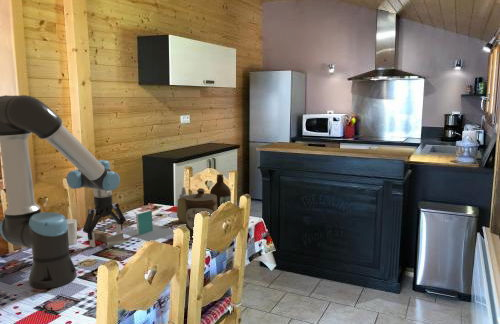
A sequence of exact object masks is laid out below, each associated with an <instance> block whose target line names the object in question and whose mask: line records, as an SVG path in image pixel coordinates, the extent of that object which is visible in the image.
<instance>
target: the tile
mask: <svg viewBox="0 0 500 324" xmlns="http://www.w3.org/2000/svg"><path fill="white" fill-rule="evenodd" d="M135 218H136V219H135V221H136V229H137V235H141V234H144V233H147V232H150V231H153V226H152V224H153V211H152V210H151V209H148V210H145V211H142V212H141V211H140V212H138V213H135Z"/></svg>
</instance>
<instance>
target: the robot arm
mask: <svg viewBox="0 0 500 324" xmlns="http://www.w3.org/2000/svg"><path fill="white" fill-rule="evenodd" d="M32 133H33V134H34V135H36V136H37V137H38V138H39V139H41V140H46V141H47V142H48V143H49V145H51V146H52V147H53V148H54V149H56V151H58V152H59V153H60V154H61V155H62V156H63V157H64V158H66V160H67V161H69V162H70V163H71V164H72V165H73V167H75V168H76V169H74V170H69V171H68V173H67V175H66V183H67V185H68V187H70V188H71V189H73V190H75V189H78V190H79V189H82V188H87V189H92V190H93V196H94V197H93V201H94V208H89V209H88V210H87V211H88V212H87V217H86V220H85V223H84V226H83V229H82V232H83V233H87V240H88V241H89V247H91V248H96V241H95V237H94V232H93V230H95V228H96V226H97V224H98V223H99V221H100V220H101V219H102V218H105V217H111V218H112V219H113V220H114V221H115V222H116V223H115V229H116V230H115V231H116V234H119V233H122V232H123V224H124V222H126V221H127V219H126V217H125V216H124V214H123V213H122V210H121V208H120V205H119V203H116V202H114V203H113V195H112V193H113V191H115V190H116V189H118V187H119V185H120V183H121V177H120V174H119V173H117V172H115V171H113V170H111V163H110V161H109V160H105V159H99V160H98V158H96V157H95V156H94V154H92V153H91V152H90V151H89V149H88V148H87V147H85V145H83V144H82V143H81V142H80V141H79V139H77V138H76V136H74V134H72V133H71V131H70V130H68V128H67V127H66V126H64V125H63V119H62V118H61V117H60V116H59V115H58V114H57V112H55V111H54V110H53V109H51V107H49V106H48V105H47V104H45V103H44V102H42V101H41V100H39V99H38V98H36V97H35V96H30V95H27V94H21V95H1V96H0V154H1V161H2V168H3V175H4V176H3V177H4V178H3V179H4V183H5V185H4V186H5V193H6V200H7V207H6V209H5V210H4V212H3V213H4V217H3V218H2V220H1V221H0V235H1V237H2V238H3V239H4V241H6V242H7V243H10V244H12V245H13V246H16V247H17V246H20V247H24V248H27V249H31V252H32V264H31V269H30V273H29V277H28V281H29V282H28V283H29V286H30V287H32V288H35V289H41V290H42V289H53V288H54V289H55V288H57V287H62V286H64V285H67V284H69V283H71V282H73V281H74V280H75V279H76V278H77V270H76V267H75V264H74V262H73V260H72V258H71V256H70V245H69V242H68V225H67V221H66V219H67V218H66V217H65V215H63V214H62V213H60V212H55V211H51V212H49V211H43V212H42V211H41V210H42V209H41V206H40V205H38V204H37V203H36V200H35V191H34V183H33V175H32V166H31V158H30V150H29V141H28V140H29V139H28V138H29V137H30V136H31V135H32ZM113 209H114V211H113ZM115 213H116V214H115Z"/></svg>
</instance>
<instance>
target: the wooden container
mask: <svg viewBox="0 0 500 324" xmlns="http://www.w3.org/2000/svg"><path fill="white" fill-rule="evenodd" d="M188 195H189V196H186V197H185V203H186V223H185V225H186V226H185V227H187V228H188V229H189V230H190V237H191V238H190V239H192V236H193V227H194V217H195V214H197V213H199V212H201V211H207V212H209V213H210V215H211V214H212V213H213V212H214V211H216V210H217V196H216V195H214V194H210V193H206V191H205V189H204V188H198V189H197V190H196V193H193V194H188Z"/></svg>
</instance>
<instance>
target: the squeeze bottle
mask: <svg viewBox="0 0 500 324" xmlns="http://www.w3.org/2000/svg"><path fill="white" fill-rule="evenodd" d="M186 190H187V189H186V187H185V186H184V187H183V186H182V188H181V193H179V195H178V196H179V198H178V199H177V204H176V205H177V207H176V217H177V220H178V222H179V223H180V224H181V223H182V224H186V203H185V197H186V196H189V195H190V194H189V193H187V191H186Z"/></svg>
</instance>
